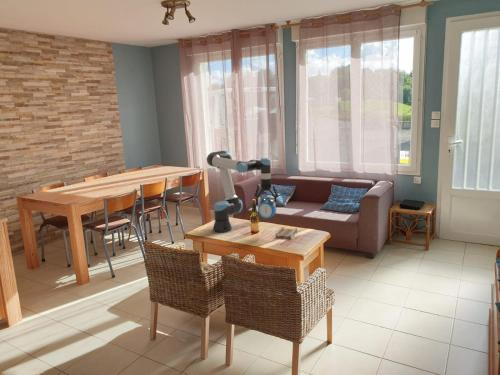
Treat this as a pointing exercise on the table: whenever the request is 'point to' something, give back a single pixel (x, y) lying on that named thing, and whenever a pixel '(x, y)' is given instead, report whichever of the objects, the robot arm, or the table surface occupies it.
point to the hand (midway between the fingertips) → (266, 205)
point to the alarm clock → (266, 209)
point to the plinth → (286, 233)
